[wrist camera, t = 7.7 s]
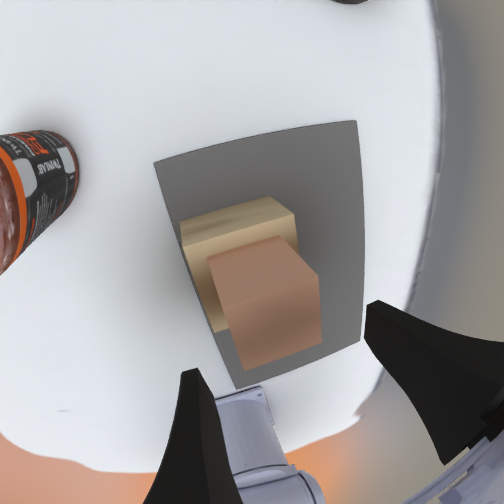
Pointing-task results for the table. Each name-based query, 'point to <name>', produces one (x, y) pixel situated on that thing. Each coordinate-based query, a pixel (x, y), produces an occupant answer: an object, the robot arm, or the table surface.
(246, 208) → the oak block
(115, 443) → the table surface
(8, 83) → the table surface
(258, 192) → the mat
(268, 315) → the terracotta block
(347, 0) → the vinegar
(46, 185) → the supplement bottle
